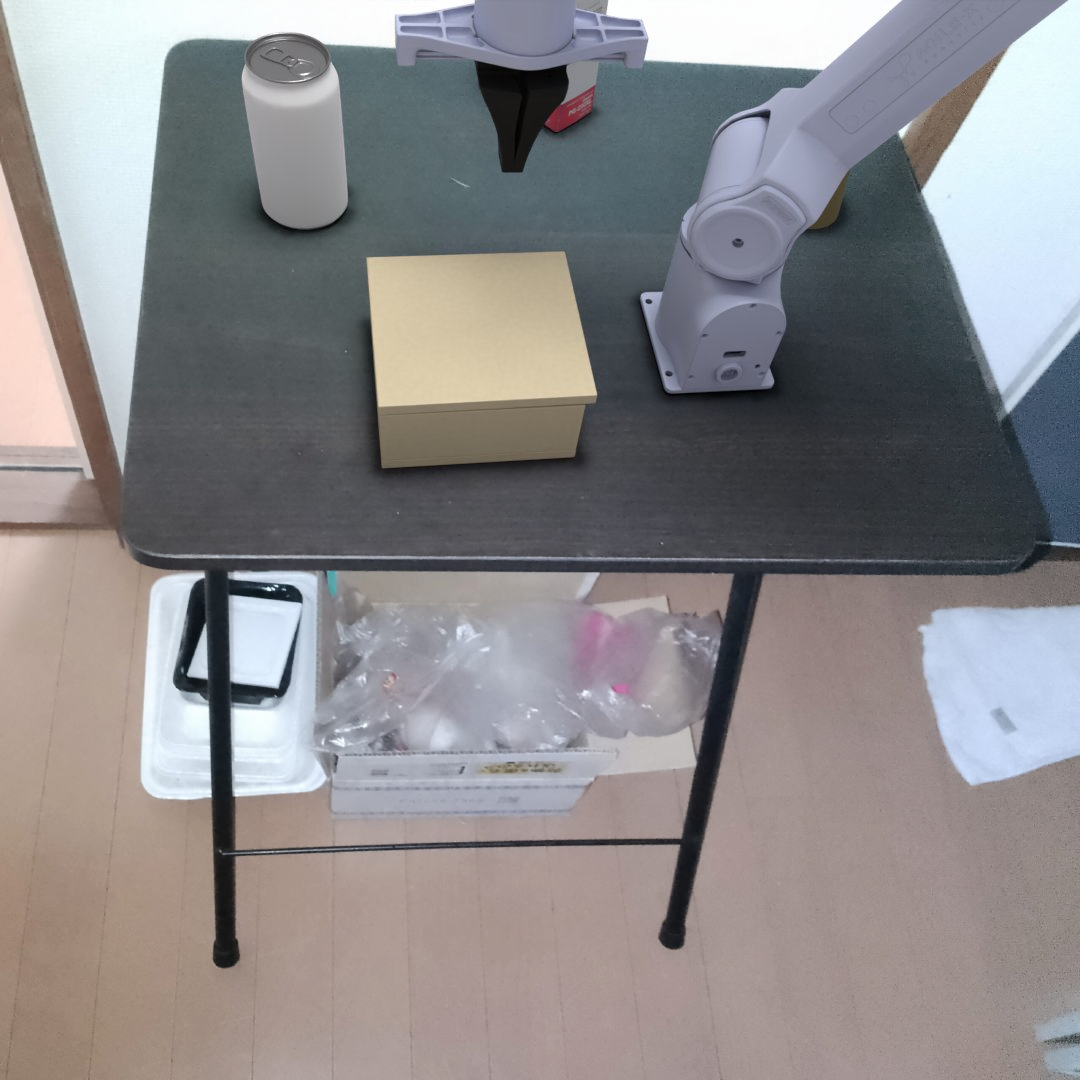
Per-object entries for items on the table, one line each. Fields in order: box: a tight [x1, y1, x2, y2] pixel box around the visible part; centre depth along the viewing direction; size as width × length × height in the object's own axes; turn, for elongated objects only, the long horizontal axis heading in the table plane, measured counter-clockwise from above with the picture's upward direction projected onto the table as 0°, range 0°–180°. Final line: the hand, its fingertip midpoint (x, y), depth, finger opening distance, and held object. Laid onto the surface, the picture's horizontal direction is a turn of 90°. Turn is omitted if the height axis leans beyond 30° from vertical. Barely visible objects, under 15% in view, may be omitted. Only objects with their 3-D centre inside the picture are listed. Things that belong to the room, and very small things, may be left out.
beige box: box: [366, 271, 586, 469], centre depth 65 cm, size 13×13×5 cm
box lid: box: [366, 250, 598, 415], centre depth 63 cm, size 13×13×1 cm
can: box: [241, 31, 349, 231], centre depth 71 cm, size 6×6×12 cm
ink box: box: [544, 0, 609, 133], centre depth 81 cm, size 8×5×12 cm, turn 47°
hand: (510, 162), depth 64 cm, fingers closed
